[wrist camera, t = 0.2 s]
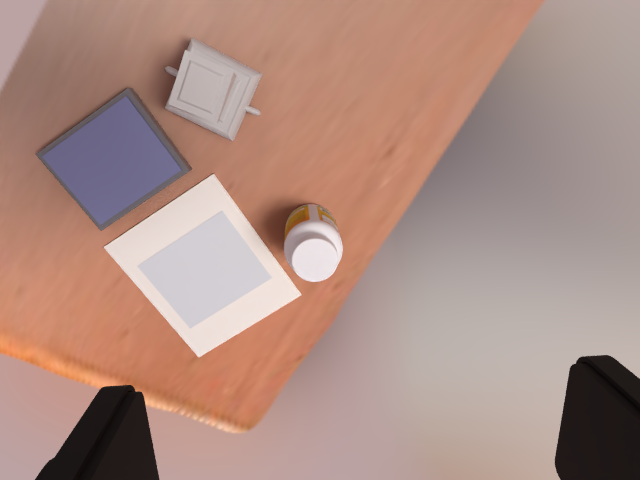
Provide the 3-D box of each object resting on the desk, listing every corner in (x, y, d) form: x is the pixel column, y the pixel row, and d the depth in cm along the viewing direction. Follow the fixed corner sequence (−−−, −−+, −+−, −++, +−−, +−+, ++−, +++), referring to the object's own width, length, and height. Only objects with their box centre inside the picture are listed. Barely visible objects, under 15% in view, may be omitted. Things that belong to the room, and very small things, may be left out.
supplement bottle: (284, 250, 47) (281, 288, 38) (286, 201, 45) (284, 228, 36) (333, 253, 47) (343, 291, 38) (338, 204, 46) (349, 232, 36)
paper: (104, 246, 45) (103, 247, 45) (213, 173, 44) (213, 173, 44) (199, 356, 50) (198, 357, 50) (301, 294, 48) (301, 295, 48)
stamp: (160, 103, 42) (128, 104, 34) (185, 34, 40) (157, 18, 32) (248, 144, 43) (238, 155, 35) (276, 80, 41) (271, 76, 33)
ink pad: (42, 152, 42) (33, 154, 41) (132, 88, 41) (126, 87, 39) (105, 227, 45) (99, 231, 43) (192, 169, 44) (188, 171, 42)
